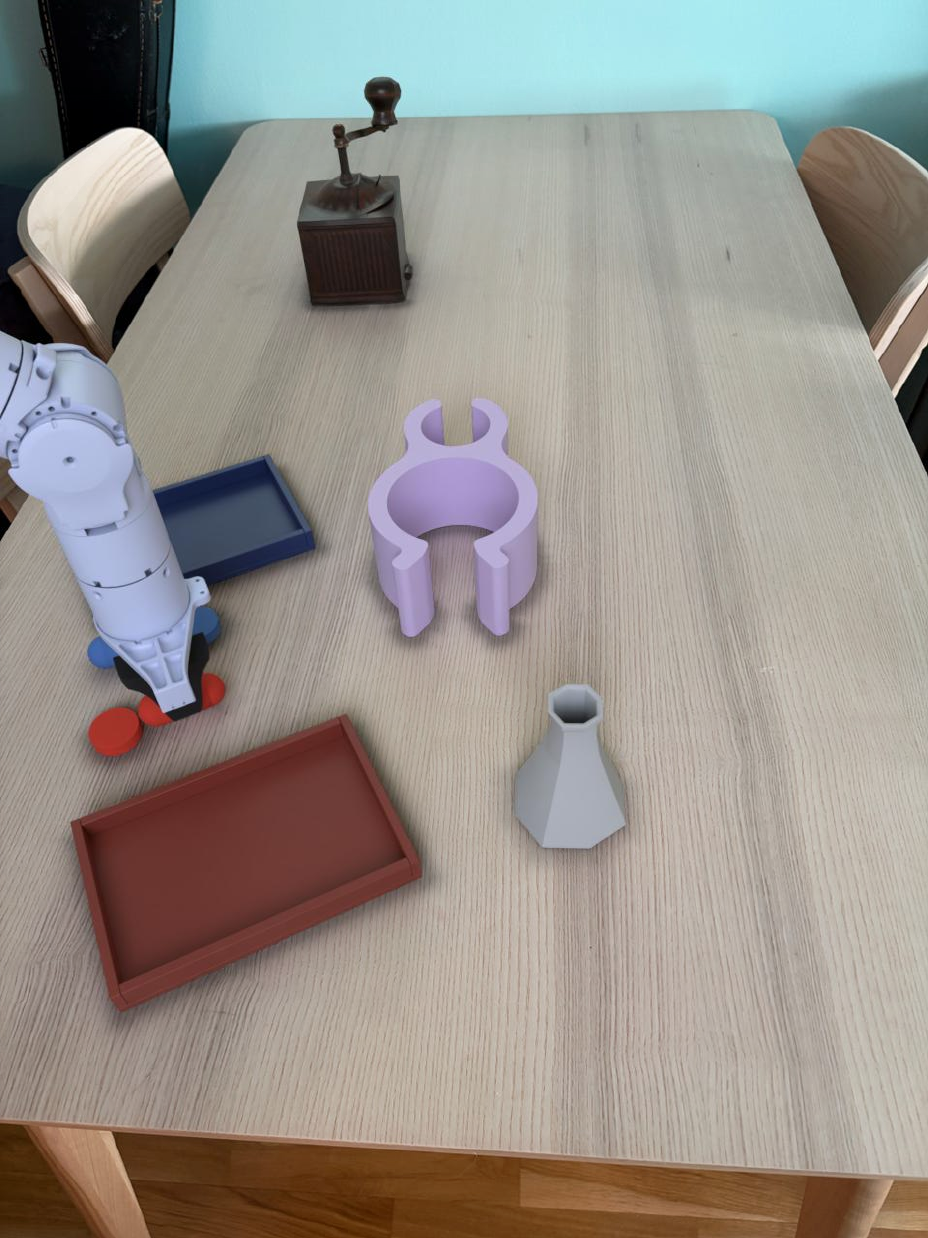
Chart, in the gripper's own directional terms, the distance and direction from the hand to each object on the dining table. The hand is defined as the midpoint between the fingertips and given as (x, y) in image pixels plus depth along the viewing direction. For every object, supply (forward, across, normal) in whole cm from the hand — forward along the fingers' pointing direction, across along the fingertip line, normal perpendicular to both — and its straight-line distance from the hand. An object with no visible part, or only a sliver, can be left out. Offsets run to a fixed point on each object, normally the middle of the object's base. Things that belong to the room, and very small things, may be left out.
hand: (181, 698), depth 67 cm
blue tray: (+1, +17, -5) cm, 18 cm away
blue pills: (+1, +7, 0) cm, 7 cm away
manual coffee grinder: (+2, +52, -34) cm, 63 cm away
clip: (+2, +6, -24) cm, 25 cm away
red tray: (+1, -13, 0) cm, 13 cm away
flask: (+2, -18, -20) cm, 27 cm away
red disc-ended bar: (+1, 0, +2) cm, 2 cm away
